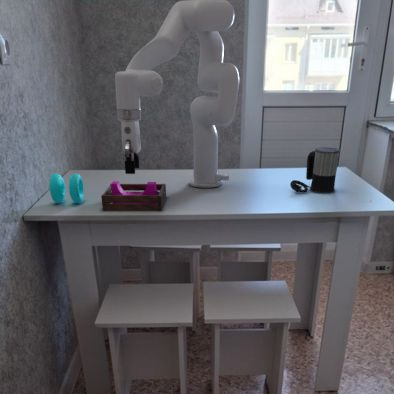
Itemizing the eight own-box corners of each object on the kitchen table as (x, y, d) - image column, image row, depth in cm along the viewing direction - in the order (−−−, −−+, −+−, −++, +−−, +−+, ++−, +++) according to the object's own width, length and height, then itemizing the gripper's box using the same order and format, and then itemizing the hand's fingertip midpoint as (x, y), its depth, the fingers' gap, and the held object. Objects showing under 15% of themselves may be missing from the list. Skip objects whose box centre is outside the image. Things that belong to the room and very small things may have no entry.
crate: (166, 197, 179) (165, 183, 176) (161, 210, 165) (160, 195, 162) (112, 197, 180) (110, 183, 177) (102, 210, 165) (101, 195, 163)
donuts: (59, 199, 178) (54, 170, 173) (86, 199, 178) (82, 170, 173) (51, 206, 170) (46, 177, 165) (79, 206, 170) (75, 177, 164)
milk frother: (339, 190, 187) (345, 149, 179) (317, 198, 177) (322, 155, 169) (307, 184, 195) (311, 144, 187) (284, 191, 185) (288, 150, 178)
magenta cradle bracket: (158, 201, 174) (157, 180, 170) (155, 206, 169) (154, 184, 165) (116, 201, 175) (114, 179, 171) (112, 206, 170) (110, 183, 166)
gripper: (136, 118, 150) (140, 176, 159) (144, 112, 165) (146, 166, 173) (112, 118, 150) (117, 176, 159) (122, 112, 165) (125, 165, 174)
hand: (132, 170), depth 166 cm, fingers open, 9 cm apart
